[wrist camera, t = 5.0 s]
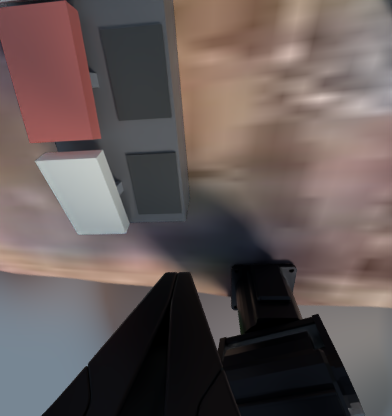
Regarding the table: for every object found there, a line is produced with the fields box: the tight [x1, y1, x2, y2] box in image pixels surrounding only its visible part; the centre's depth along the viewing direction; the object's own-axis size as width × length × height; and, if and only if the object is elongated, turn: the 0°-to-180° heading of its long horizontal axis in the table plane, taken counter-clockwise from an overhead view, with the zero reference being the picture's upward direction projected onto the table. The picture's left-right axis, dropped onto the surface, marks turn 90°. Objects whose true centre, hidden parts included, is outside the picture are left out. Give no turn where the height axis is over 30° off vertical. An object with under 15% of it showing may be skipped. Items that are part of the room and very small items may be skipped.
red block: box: [0, 0, 101, 143], centre depth 12 cm, size 6×4×1 cm, turn 4°
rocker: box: [35, 150, 130, 235], centre depth 15 cm, size 6×4×1 cm, turn 3°
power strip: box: [7, 0, 190, 223], centre depth 14 cm, size 19×8×5 cm, turn 4°
